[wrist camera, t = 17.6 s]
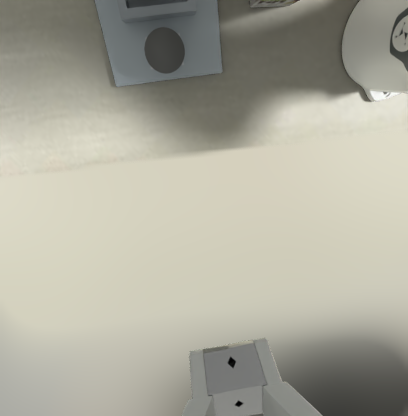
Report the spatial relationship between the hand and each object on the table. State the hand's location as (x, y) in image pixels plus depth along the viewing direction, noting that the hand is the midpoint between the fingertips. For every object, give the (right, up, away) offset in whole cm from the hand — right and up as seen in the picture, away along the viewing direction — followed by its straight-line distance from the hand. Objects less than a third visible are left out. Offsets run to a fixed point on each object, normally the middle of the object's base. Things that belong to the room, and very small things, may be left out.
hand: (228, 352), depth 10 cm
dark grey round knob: (-6, +27, +27) cm, 39 cm away
